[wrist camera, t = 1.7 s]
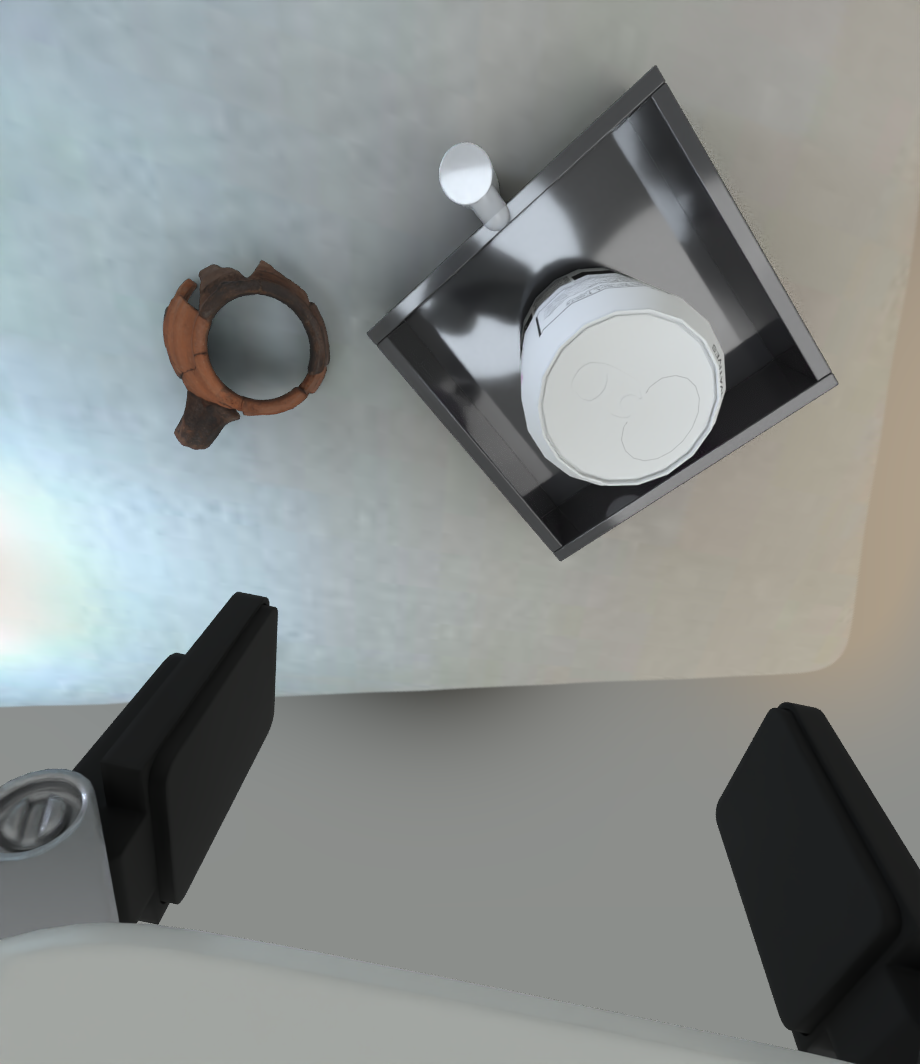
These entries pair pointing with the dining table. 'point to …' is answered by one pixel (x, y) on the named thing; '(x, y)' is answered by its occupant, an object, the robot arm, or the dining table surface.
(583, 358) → the supplement can
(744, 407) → the sink
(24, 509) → the dining table surface
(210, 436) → the pottery mug
